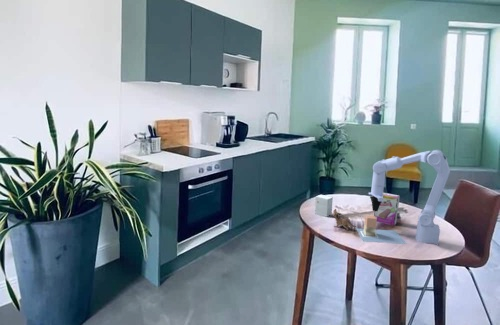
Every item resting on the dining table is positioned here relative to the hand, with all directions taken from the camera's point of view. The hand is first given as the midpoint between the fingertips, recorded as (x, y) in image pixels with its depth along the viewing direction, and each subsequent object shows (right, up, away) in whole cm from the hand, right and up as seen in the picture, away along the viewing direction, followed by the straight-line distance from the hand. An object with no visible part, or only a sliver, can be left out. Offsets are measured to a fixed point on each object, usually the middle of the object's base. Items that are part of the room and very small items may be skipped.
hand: (375, 210), depth 183 cm
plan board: (0, -12, -7) cm, 14 cm away
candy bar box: (+9, -9, +12) cm, 18 cm away
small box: (-22, -5, +23) cm, 32 cm away
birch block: (-5, -11, -6) cm, 13 cm away
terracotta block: (-5, -6, -7) cm, 10 cm away
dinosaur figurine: (-16, -10, +2) cm, 19 cm away
